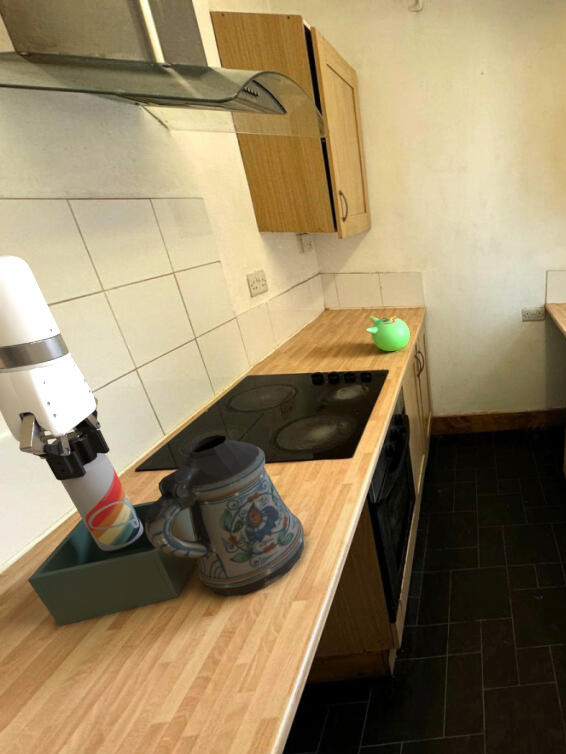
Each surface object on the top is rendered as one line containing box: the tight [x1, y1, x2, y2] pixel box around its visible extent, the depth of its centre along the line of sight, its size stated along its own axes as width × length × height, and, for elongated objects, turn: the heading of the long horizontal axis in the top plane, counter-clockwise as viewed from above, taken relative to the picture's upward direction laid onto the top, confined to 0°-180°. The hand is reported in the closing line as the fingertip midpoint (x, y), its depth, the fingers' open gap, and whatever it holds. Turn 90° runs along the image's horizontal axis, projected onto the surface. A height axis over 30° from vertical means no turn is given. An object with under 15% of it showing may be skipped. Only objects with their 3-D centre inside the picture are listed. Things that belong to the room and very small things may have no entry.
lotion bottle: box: [51, 430, 143, 551], centre depth 65 cm, size 6×6×20 cm
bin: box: [27, 500, 197, 627], centre depth 70 cm, size 16×15×10 cm
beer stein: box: [145, 434, 305, 597], centre depth 68 cm, size 16×19×25 cm
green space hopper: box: [365, 315, 411, 352], centre depth 177 cm, size 18×17×15 cm
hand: (84, 464), depth 63 cm, fingers closed on lotion bottle, 5 cm apart
